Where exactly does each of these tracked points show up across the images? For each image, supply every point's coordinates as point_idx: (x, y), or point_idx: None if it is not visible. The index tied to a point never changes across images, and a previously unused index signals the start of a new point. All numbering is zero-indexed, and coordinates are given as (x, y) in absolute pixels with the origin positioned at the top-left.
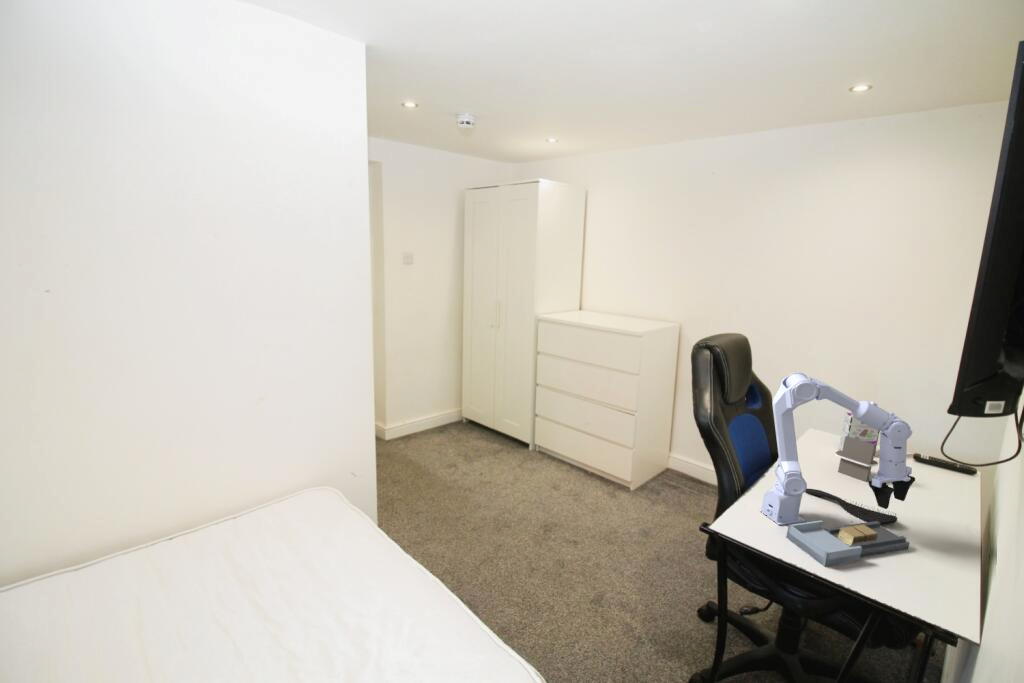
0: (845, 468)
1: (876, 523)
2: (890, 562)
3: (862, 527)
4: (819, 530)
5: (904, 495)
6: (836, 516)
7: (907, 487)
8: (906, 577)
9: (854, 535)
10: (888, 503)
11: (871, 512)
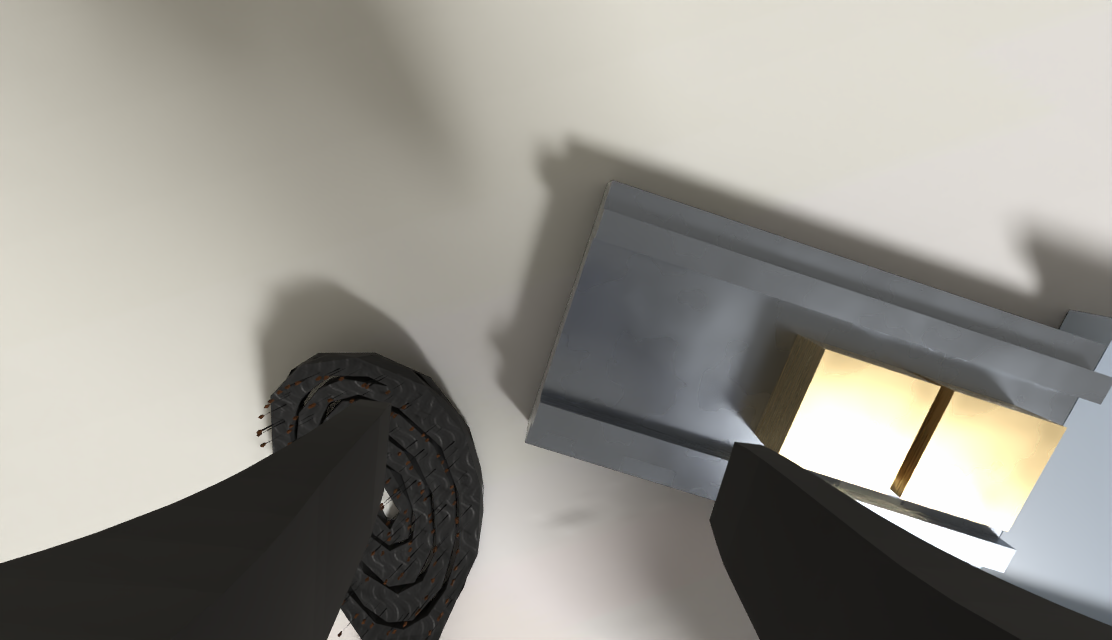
0: None
1: (579, 416)
2: (907, 190)
3: (836, 446)
4: (1019, 582)
5: (363, 442)
6: (597, 590)
7: (283, 533)
8: (1020, 62)
9: (1038, 432)
10: (801, 480)
11: None
